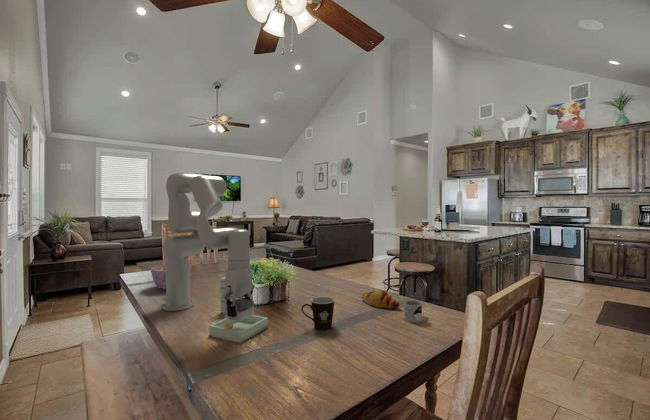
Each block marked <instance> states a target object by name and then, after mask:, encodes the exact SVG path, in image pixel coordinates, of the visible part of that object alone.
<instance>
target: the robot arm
mask: <svg viewBox="0 0 650 420" xmlns="http://www.w3.org/2000/svg"><path fill="white" fill-rule="evenodd" d="M165 187H166V188H165V190H166V194H167V198H168V214H167V215H168V217H167V227H168V230H169V232H170V233H173V234H181V235H172V236H169V237H167V238H166V239H165V240H164V241H163V245H162V249H163V254H164V260H165V265H166V290H165V293H166V294H165V296H163V297H162V298H161V300H162V301H165V303H164V304H163V305H162V309H163V310H164V311H166V312H167V311H168V312H174V311H175V312H177V311H178V312H179V311H184V310H187V309H190V308H192V307H193V306H194V305H195V304H194V303H195V302H194V301H193V300H191V284H190V283H191V279H190V278H191V277H190V275H191V270H190V268H189V265H190V264H189V263H188V261H187V260H186V259H185V258H186V257H189V256H190V257H191V256H196V255H201V254H202V253H203V252H204V251H205V248H206V249H207V250H211V251H213V250H221V249H227V268H226V270H225V275H224V278H225V286H224V294H223V295H222V299H223V301H224V302H225V303H226V305H227V315H228V316H229V317H236V306H235V305H234V304H235V301H236V298H238V297H239V298H241V297H243V298H242V299H247V300H252V296H253V293H254V290H255V287H256V286H255V284H254V283H253V282H252V281H253V279H252V269H251V263H250V261H251V260H250V257H251V256H250V255H251V253H250V252H251V251H250V250H251V249H250V248H251V247H250V245H251V243H250V241H251V240H250V231H249V230H248V229H244V228H240V229H239V228H238V227H237V228H236V227H219V228H217V227H216V228H213V227H212V226H211V224H210V222H209V218H211V217H213V216H215V215H217V214H218V213H219V212H220V211H222V209H223V206H224V205H223V202H222V200H221V198H220V197H223V196H224V195H225V194H226V192H227V187H228V186H227V183H226V181H225V180H224V178H222V177H221V176H216V175H210V174H202V173H201V174H199V173H188V172H177V173H173V174H170V175H169V176H168V177H167V180H166V183H165ZM187 194H192V195H193V198H194V199H195V202H196V204H197V206H198V208H199V210H200V211H199V210H194V211H193V210H191V200H190V198H189V196H188V195H187ZM183 233H191V234H183ZM232 295H233V296H232ZM231 298H232V302H231Z"/></svg>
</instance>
